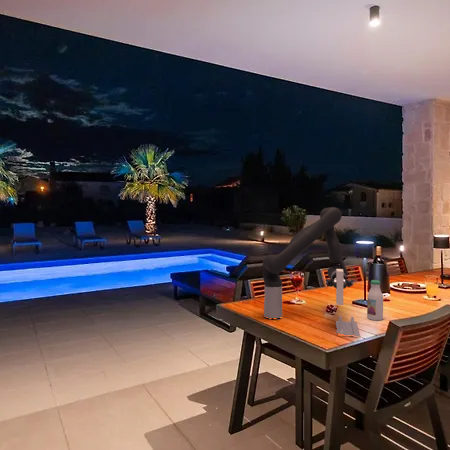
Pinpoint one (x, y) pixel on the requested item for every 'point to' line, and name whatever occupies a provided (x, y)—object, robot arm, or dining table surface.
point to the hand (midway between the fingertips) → (340, 286)
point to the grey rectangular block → (339, 286)
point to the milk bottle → (375, 301)
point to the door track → (347, 327)
